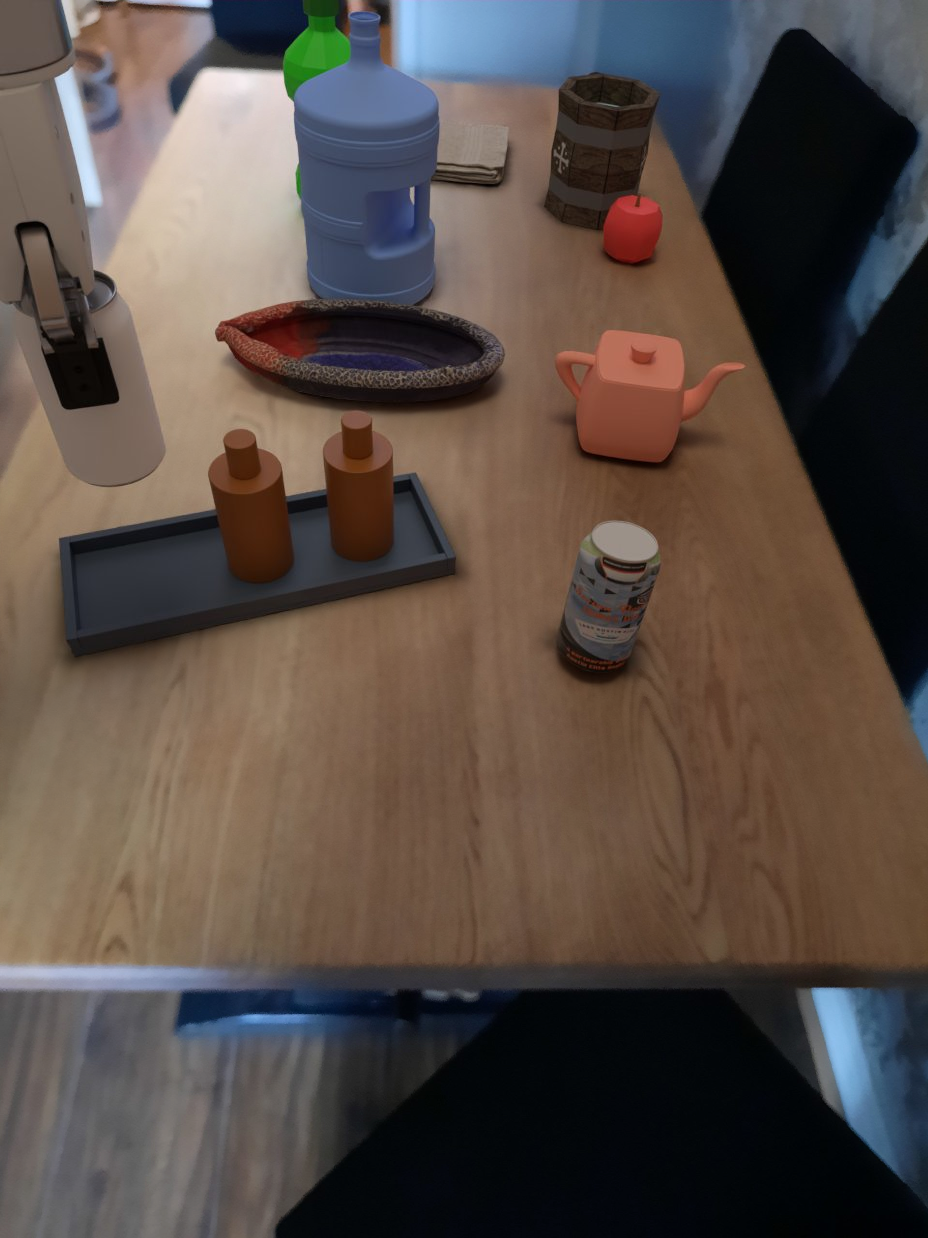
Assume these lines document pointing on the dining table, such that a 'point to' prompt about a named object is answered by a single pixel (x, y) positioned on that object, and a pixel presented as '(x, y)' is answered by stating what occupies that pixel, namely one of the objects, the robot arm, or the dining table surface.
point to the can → (109, 434)
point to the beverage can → (608, 596)
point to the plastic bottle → (315, 50)
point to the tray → (205, 586)
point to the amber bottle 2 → (359, 489)
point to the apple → (632, 228)
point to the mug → (598, 146)
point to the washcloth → (471, 153)
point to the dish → (364, 349)
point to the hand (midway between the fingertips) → (87, 367)
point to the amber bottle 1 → (251, 509)
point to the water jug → (367, 175)
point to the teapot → (635, 394)
